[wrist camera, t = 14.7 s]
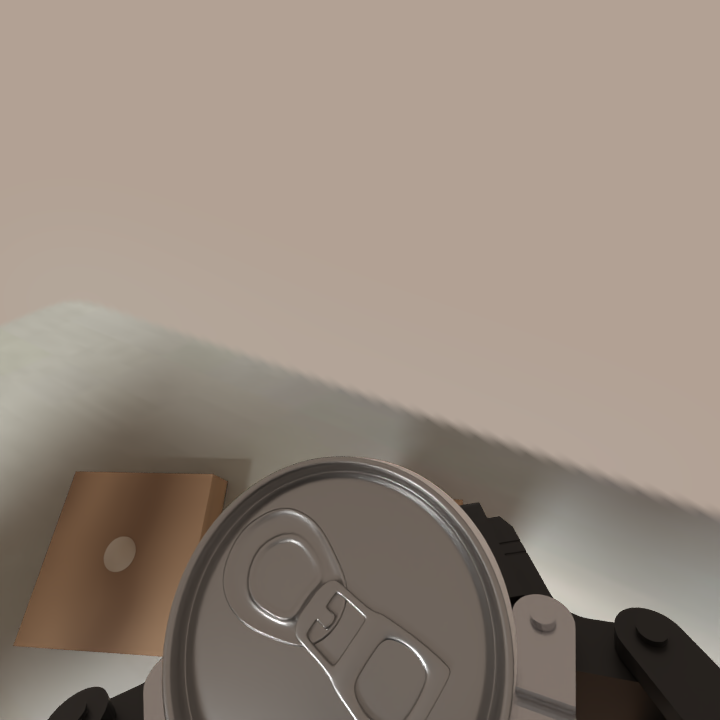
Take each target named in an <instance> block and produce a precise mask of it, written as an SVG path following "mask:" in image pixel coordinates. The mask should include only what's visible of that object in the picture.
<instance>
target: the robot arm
mask: <svg viewBox="0 0 720 720" xmlns="http://www.w3.org/2000/svg"><path fill="white" fill-rule="evenodd" d="M459 506H460V507H461V508H462V509H463V510H464V512H465V513H466V514H467V515H468V516H469V518H470V519H471V520H472V521H473V523H474V524H475V525H476V527H477V528H478V530H479V531H480V533H481V534H482V536H483V537H484V539H485V541H486V542H487V544H488V546H489V548H490V550H491V551H492V553H493V555H494V557H495V560H496V562H497V564H498V566H499V569H500V571H501V574H502V577H503V579H504V582H505V585H506V588H507V592H508V595H509V599H510V603H511V608H512V612H513V618H514V624H515V632H516V643H517V675H516V687H515V692H514V693H513V700H512V708H511V714H510V720H720V668H719V667H718V666H717V665H716V664H715V663H714V662H713V661H712V660H711V659H710V658H709V657H708V655H707V654H706V653H705V652H704V651H703V650H702V649H701V648H700V647H699V646H698V645H697V644H696V643H695V642H694V641H693V640H692V639H691V638H690V637H689V636H688V635H687V634H686V633H685V632H684V631H683V630H682V629H681V628H680V627H679V626H678V625H677V624H676V623H674V622H673V621H672V620H670V619H669V618H667V617H666V616H664V615H662V614H660V613H658V612H655V611H652V610H649V609H645V608H628V609H625V610H623V611H621V612H620V613H619V614H618V615H617V616H616V618H615V623H613V622H607V621H600V620H593V619H588V618H583V617H580V616H577V615H575V614H573V613H571V612H570V611H569V610H568V609H567V608H566V607H565V606H564V605H563V604H562V603H560V602H559V601H557V600H555V599H553V597H552V596H551V594H550V592H549V591H548V589H547V587H546V585H545V584H544V582H543V580H542V578H541V576H540V575H539V573H538V571H537V569H536V568H535V566H534V564H533V562H532V561H531V559H530V557H529V555H528V553H526V550H525V548H524V546H523V545H522V543H521V542H520V539H519V537H518V536H517V534H516V532H515V530H514V529H513V527H512V526H511V525H510V524H508V523H507V522H506V521H505V520H503V519H502V518H501V517H500V516H499V517H493V518H487V517H486V515H485V513H484V511H483V509H482V507H481V505H480V503H472V504H465V505H459ZM48 720H165V716H164V708H163V698H162V659H161V660H160V661H159V662H158V663H157V664H156V665H155V666H154V667H153V669H152V670H151V672H150V673H149V675H148V677H147V679H146V681H145V683H143V684H141V685H139V686H137V687H135V688H132V689H130V690H128V691H126V692H124V693H122V694H119V695H117V696H115V697H113V698H111V699H110V698H109V696H108V694H107V692H106V690H104V689H103V688H101V687H91V688H87V689H84V690H82V691H80V692H78V693H76V694H75V695H73V696H72V697H70V698H69V699H67V700H66V701H65V702H64V703H62V704H61V705H60V706H59V707H58V708H57V709H56V710H55V711H54V713H53V714H52V715H51V716H50V717H49V719H48Z"/></svg>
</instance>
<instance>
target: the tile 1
mask: <svg viewBox="0 0 720 720" xmlns="http://www.w3.org/2000/svg"><path fill="white" fill-rule="evenodd" d="M227 482H228V481H226V480H224V479H222V478H220V477H218V476H216V475H214V474H180V473H127V472H76V473H75V475H74V478H73V481H72V484H71V486H70V489H69V492H68V495H67V498H66V500H65V503H64V506H63V509H62V512H61V514H60V517H59V520H58V523H57V525H56V528H55V531H54V534H53V537H52V539H51V542H50V545H49V548H48V550H47V553H46V556H45V559H44V562H43V564H42V567H41V570H40V573H39V575H38V578H37V581H36V584H35V587H34V589H33V592H32V595H31V598H30V601H29V603H28V606H27V609H26V612H25V614H24V617H23V620H22V623H21V626H20V628H19V631H18V634H17V637H16V639H15V642H14V645H13V646H22V647H36V648H50V649H64V650H78V651H92V652H106V653H120V654H134V655H148V656H162V657H163V647H164V639H165V633H166V627H167V622H168V618H169V614H170V610H171V606H172V603H173V599H174V596H175V593H176V590H177V587H178V585H179V582H180V580H181V577H182V575H183V573H184V570H185V568H186V566H187V564H188V562H189V560H190V558H191V556H192V554H193V552H194V551H195V549H196V547H197V546H198V544H199V542H200V541H201V539H202V538H203V536H204V535H205V533H206V532H207V530H208V529H209V528H210V526H211V525H212V524H213V523H214V521H215V520H216V519H217V518H218V517H219V515H220V514H221V513H222V509H223V504H224V498H225V493H226V488H227Z"/></svg>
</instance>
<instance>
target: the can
mask: <svg viewBox="0 0 720 720" xmlns="http://www.w3.org/2000/svg"><path fill="white" fill-rule="evenodd" d="M516 675H517V643H516V632H515V624H514V618H513V612H512V608H511V603H510V599H509V595H508V592H507V588H506V585H505V582H504V579H503V577H502V574H501V571H500V569H499V566H498V564H497V562H496V560H495V557H494V555H493V553H492V551H491V550H490V548H489V546H488V544H487V542H486V541H485V539H484V537H483V536H482V534H481V533H480V531H479V530H478V528H477V527H476V525H475V524H474V523H473V521H472V520H471V519H470V518H469V516H468V515H467V514H466V513H465V512H464V510H463V509H462V508H461V507H460V506H459V505H458V504H457V503H456V502H455V501H454V500H453V499H452V498H451V497H450V496H449V495H447V494H446V493H445V492H444V491H443V490H441V489H440V488H439V487H437V486H436V485H435V484H433V483H432V482H430V481H429V480H427V479H426V478H424V477H422V476H420V475H419V474H417V473H415V472H413V471H411V470H409V469H406V468H404V467H401V466H399V465H396V464H393V463H390V462H386V461H382V460H377V459H372V458H363V457H324V458H317V459H312V460H307V461H303V462H300V463H296V464H293V465H291V466H288V467H285V468H283V469H281V470H278V471H276V472H274V473H272V474H270V475H269V476H267V477H265V478H263V479H262V480H260V481H258V482H257V483H255V484H254V485H253V486H251V487H250V488H248V489H247V490H246V491H245V492H243V493H242V494H241V495H240V496H238V497H237V498H236V499H235V500H234V501H233V502H232V503H231V504H230V505H229V506H228V507H227V508H226V509H225V510H224V511H223V512H222V513H221V514H220V515H219V517H218V518H217V519H216V520H215V521H214V523H213V524H212V525H211V526H210V528H209V529H208V530H207V532H206V533H205V535H204V536H203V538H202V539H201V541H200V542H199V544H198V546H197V547H196V549H195V551H194V552H193V554H192V556H191V558H190V560H189V562H188V564H187V566H186V568H185V570H184V573H183V575H182V577H181V580H180V582H179V585H178V587H177V590H176V593H175V596H174V599H173V603H172V606H171V610H170V614H169V618H168V622H167V627H166V633H165V639H164V647H163V657H162V698H163V708H164V716H165V720H510V714H511V708H512V700H513V693H514V692H515V687H516Z"/></svg>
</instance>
